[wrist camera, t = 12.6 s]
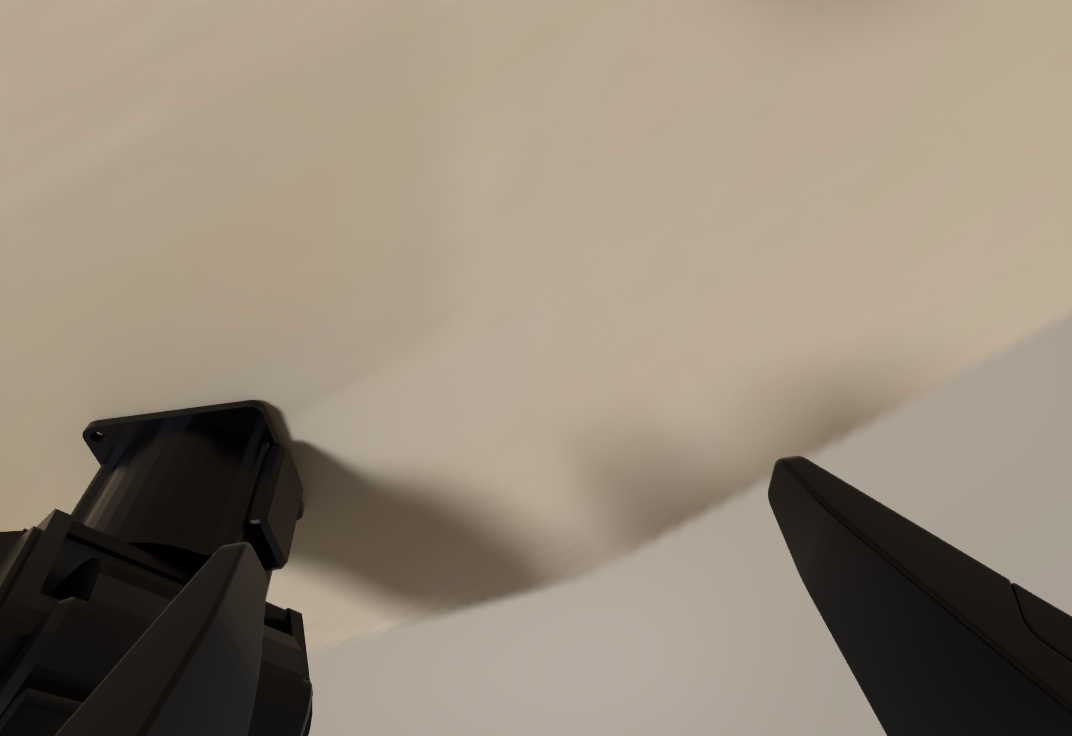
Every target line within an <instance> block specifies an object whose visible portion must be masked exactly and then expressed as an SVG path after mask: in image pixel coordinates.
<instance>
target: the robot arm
mask: <svg viewBox="0 0 1072 736" xmlns="http://www.w3.org/2000/svg"><path fill="white" fill-rule="evenodd" d="M247 412H253V413H255V414H256V415H255V416H253V415H249V414H247ZM96 432H99V433H102V434H103V435H104V436H102V435H99V434H98V433H96ZM83 438H84V440H85V442H86V443H87V445H88V446H89V448H90V450H91V451H92V453H93V454H94V456H95V457H96V459H97V460H98V462H99V463H100V465H101V467H100V469H99V470H98V472H97V473H96V475H95V477H94V478H93V480H92V481H91V483H90V485H89V486H88V488H87V489H86V491H85V493H84V494H83V496H82V497H81V499H80V501H79V502H78V504H77V505H76V507H75V509H74V510H73V512H72V513H71V515H69V514H67V513H65V512H62V511H60V510H58V509H55V510H53V511H52V512H51V513H50V514H49V515H48V516H47V517H46V518H45V519H44V520H43V521H42V522H41V523H40V524H39V525H38V526H37V527H35V526H33V527H32V528H31V529H29V530H27V529H25V528H24V529H23V530H22V531H10V532H0V736H308V734H309V730H310V726H311V718H312V696H313V690H312V684H311V682H310V678H309V669H308V661H307V653H306V644H305V636H304V627H303V619H302V614H301V613H299V612H297V611H294V610H292V609H290V608H287V609H286V610H285V609H282V608H280V607H278V606H275V605H273V604H271V603H268V602H266V596H267V592H268V588H269V584H270V579H271V575H272V571H273V570H277V569H282V568H283V567H284V566H285V564H286V563H287V562H288V557H289V553H290V548H291V543H292V539H293V534H294V529H295V525H296V520H299V519H300V518H301V517H302V515H303V512H304V503H303V501H302V498H301V497H302V492H303V487H302V484H301V481H300V479H299V476H298V474H297V471H296V469H295V466H294V463H293V461H292V458H291V456H290V453H289V451H288V448H287V447H286V446H284V445H283V444H281V443H279V441H278V438H277V436H276V433H275V431H274V428H273V426H272V423H271V420H270V418H269V415H268V413H267V410H266V408H265V407H264V405H263V404H261V403H260V402H257V401H254V400H248V401H240V402H233V403H225V404H217V405H210V406H202V407H195V408H187V409H180V410H172V411H164V412H157V413H149V414H142V415H134V416H127V417H119V418H111V419H104V420H96V421H93V422H91V423H90V424H89V425H88V426H87V427H86V429H85V430H84V432H83ZM768 499H769V502H770V505H771V508H772V510H773V513H774V515H775V517H776V520H777V522H778V524H779V527H780V529H781V532H782V534H783V536H784V538H785V541H786V544H787V546H788V548H789V550H790V553H791V555H792V558H793V560H794V563H795V565H796V567H797V570H798V572H799V574H800V576H801V578H802V581H803V583H804V585H805V587H806V588H807V590H808V592H809V594H810V596H811V598H812V599H813V602H814V603H815V605H816V607H817V609H818V611H819V612H820V614H821V616H822V618H823V620H824V622H825V623H826V625H827V627H828V629H829V631H830V632H831V634H832V636H833V638H834V640H835V642H836V643H837V645H838V647H839V649H840V651H841V653H842V654H843V656H844V658H845V660H846V662H847V663H848V665H849V667H850V669H851V671H852V673H853V674H854V676H855V678H856V679H857V681H858V683H859V685H860V687H861V689H862V691H863V693H864V694H865V696H866V698H867V700H868V702H869V703H870V705H871V707H872V709H873V711H874V713H875V714H876V716H877V718H878V720H879V721H880V723H881V725H882V727H883V729H884V731H885V733H886V734H887V736H1072V616H1070V615H1068V614H1067V613H1065V612H1063V611H1061V610H1060V609H1058V608H1056V607H1054V606H1053V605H1051V604H1049V603H1048V602H1046V601H1044V600H1042V599H1041V598H1039V597H1037V596H1036V595H1034V594H1032V593H1031V592H1029V591H1027V590H1026V589H1024V588H1022V587H1021V586H1019V585H1017V584H1015V583H1010V581H1009V580H1008V579H1007V578H1005V577H1003V576H1001V575H1000V574H998V573H997V572H995V571H993V570H992V569H990V568H988V567H987V566H985V565H983V564H982V563H980V562H978V561H977V560H975V559H973V558H972V557H970V556H968V555H967V554H965V553H963V552H962V551H960V550H958V549H957V548H955V547H953V546H952V545H950V544H948V543H946V542H945V541H943V540H941V539H940V538H938V537H936V536H935V535H933V534H931V533H930V532H928V531H926V530H925V529H923V528H921V527H920V526H918V525H916V524H915V523H913V522H911V521H910V520H908V519H906V518H905V517H903V516H901V515H900V514H898V513H896V512H895V511H893V510H891V509H890V508H888V507H886V506H885V505H883V504H881V503H880V502H877V501H876V500H875V499H873V498H871V497H870V496H868V495H866V494H865V493H863V492H861V491H859V490H858V489H856V488H854V487H853V486H851V485H849V484H848V483H846V482H844V481H843V480H841V479H839V478H838V477H836V476H834V475H833V474H831V473H829V472H828V471H826V470H824V469H823V468H821V467H819V466H818V465H816V464H814V463H813V462H811V461H809V460H808V459H806V458H804V457H801V456H792V457H786V458H780V459H778V460H777V461H776V463H775V466H774V469H773V473H772V477H771V481H770V485H769V489H768Z"/></svg>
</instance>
